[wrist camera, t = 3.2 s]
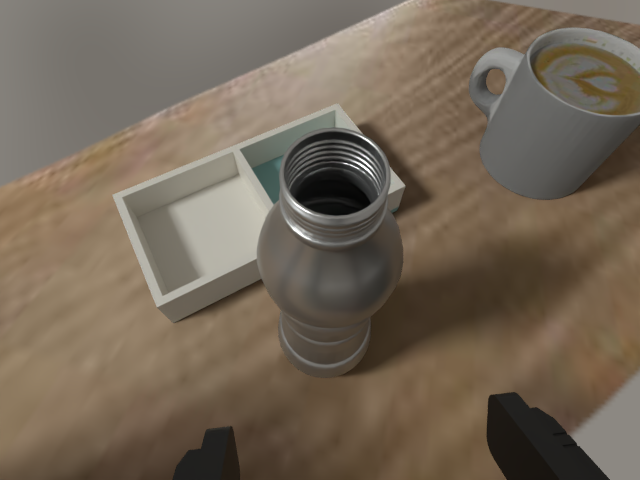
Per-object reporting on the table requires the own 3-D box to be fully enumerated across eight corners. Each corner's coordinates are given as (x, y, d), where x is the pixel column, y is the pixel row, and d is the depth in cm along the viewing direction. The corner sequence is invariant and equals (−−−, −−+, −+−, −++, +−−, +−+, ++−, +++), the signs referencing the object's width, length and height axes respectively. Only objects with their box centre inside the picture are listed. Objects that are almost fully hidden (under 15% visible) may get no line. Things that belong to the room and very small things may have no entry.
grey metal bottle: (364, 295, 32) (423, 94, 14) (369, 385, 29) (454, 266, 11) (282, 295, 32) (242, 93, 14) (278, 385, 29) (220, 266, 11)
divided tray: (173, 323, 31) (156, 307, 28) (130, 218, 35) (112, 194, 32) (397, 210, 36) (405, 185, 33) (335, 131, 40) (337, 103, 37)
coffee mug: (607, 165, 39) (693, 78, 30) (540, 218, 36) (613, 139, 27) (499, 86, 44) (545, -8, 35) (433, 127, 41) (465, 35, 32)
